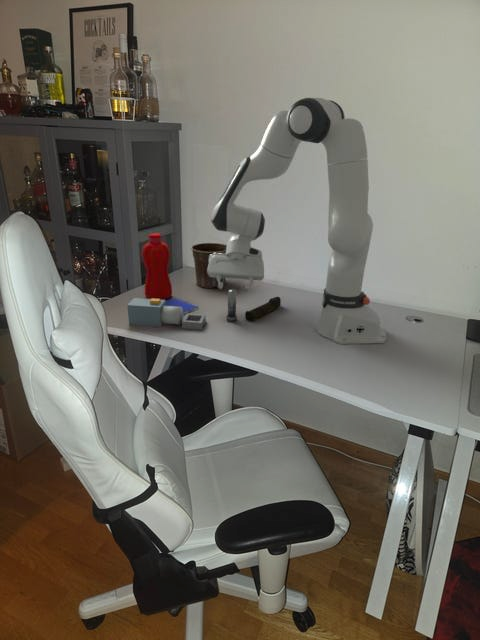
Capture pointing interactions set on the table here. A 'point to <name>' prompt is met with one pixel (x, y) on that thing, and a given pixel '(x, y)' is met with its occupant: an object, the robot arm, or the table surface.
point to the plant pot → (206, 263)
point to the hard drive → (181, 305)
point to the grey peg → (231, 306)
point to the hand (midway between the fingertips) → (233, 288)
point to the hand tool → (263, 309)
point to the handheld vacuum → (161, 314)
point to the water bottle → (156, 268)
